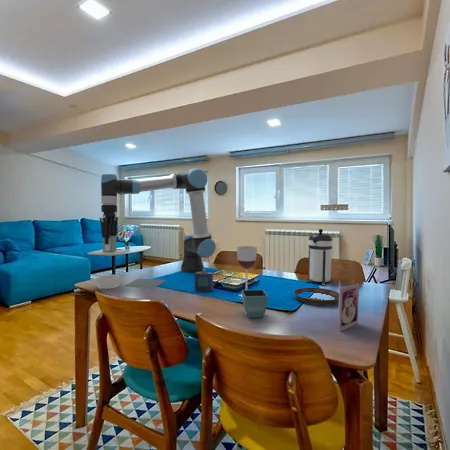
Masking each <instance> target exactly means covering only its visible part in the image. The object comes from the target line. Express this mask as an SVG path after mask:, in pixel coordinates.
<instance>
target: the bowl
mask: <svg viewBox="0 0 450 450" xmlns="http://www.w3.org/2000/svg"><path fill="white" fill-rule="evenodd" d="M120 279H121V277H120V275H118V274H105V275H99V276H96V288H97V289H100V290H101V289H102V290H103V289H104V290H107V289H109V290H111V289H116V288H118V287H120V286H121V280H120Z"/></svg>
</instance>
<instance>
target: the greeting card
mask: <svg viewBox="0 0 450 450" xmlns="http://www.w3.org/2000/svg"><path fill="white" fill-rule="evenodd" d="M338 285H339V287H338V293H339V300H338V309H337V310H338V311H337V312H338V313H337V315H338V317H337V322H338V323H339V324H338V330H342V329H344V328H346V327H349V326H351V325H354V324H356V323H359V300H360V299H359V296H360V294H359V293H360V283H359V282H357V283H354V284H350V285H346V286H342V287H341V280H340V279H339V281H338ZM356 325H357V324H356ZM354 326H355V325H354ZM351 327H352V326H351ZM349 328H350V327H349ZM346 329H347V328H346ZM344 330H345V329H344ZM342 331H343V330H342Z"/></svg>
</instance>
